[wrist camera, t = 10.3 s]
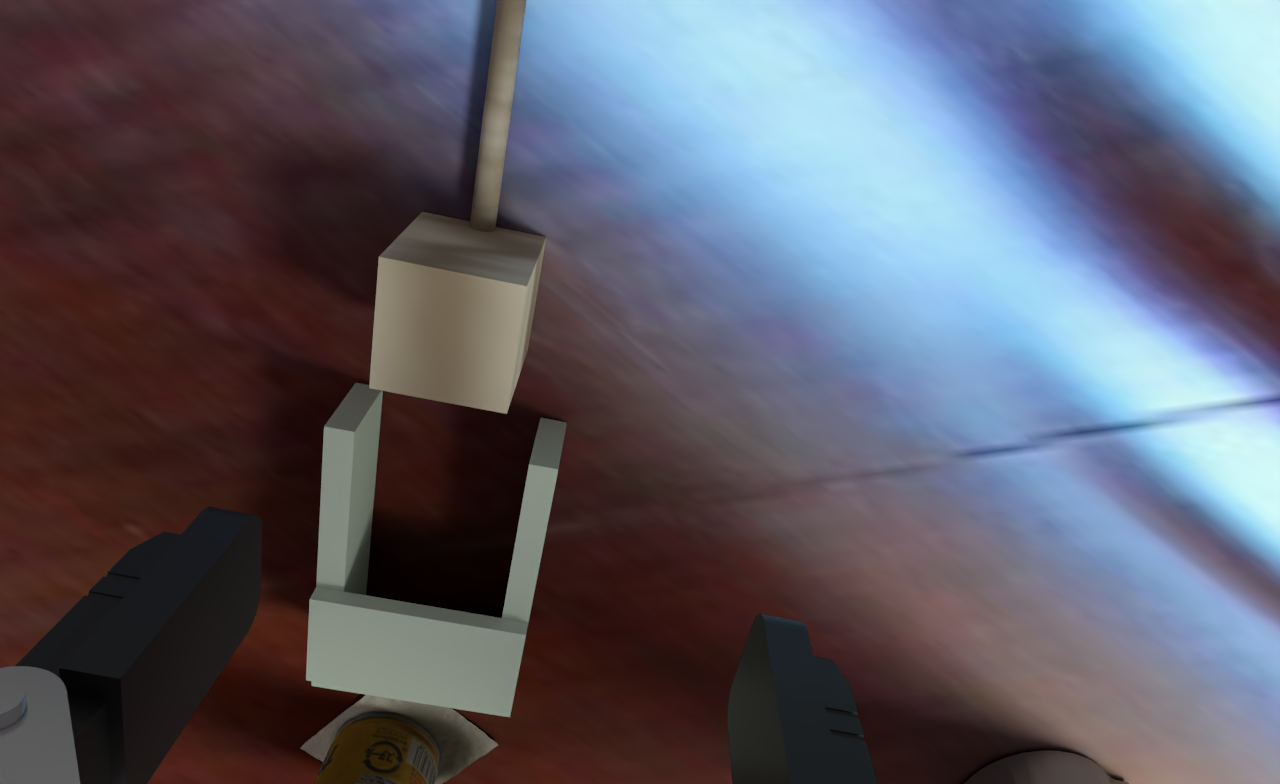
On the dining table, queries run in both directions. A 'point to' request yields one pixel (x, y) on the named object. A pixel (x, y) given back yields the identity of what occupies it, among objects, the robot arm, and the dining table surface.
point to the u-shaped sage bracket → (401, 631)
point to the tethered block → (463, 274)
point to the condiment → (396, 744)
